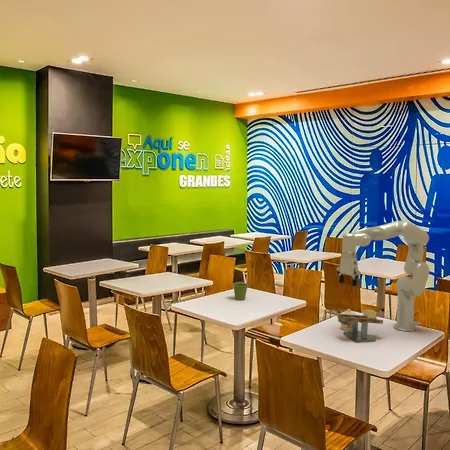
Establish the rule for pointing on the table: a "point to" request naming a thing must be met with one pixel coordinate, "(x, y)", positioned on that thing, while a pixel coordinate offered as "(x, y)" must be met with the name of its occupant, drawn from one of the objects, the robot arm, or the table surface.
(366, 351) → the table surface
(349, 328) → the teacup with lid
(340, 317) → the balance beam
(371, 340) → the pivot stand
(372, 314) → the block
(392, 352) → the table surface
